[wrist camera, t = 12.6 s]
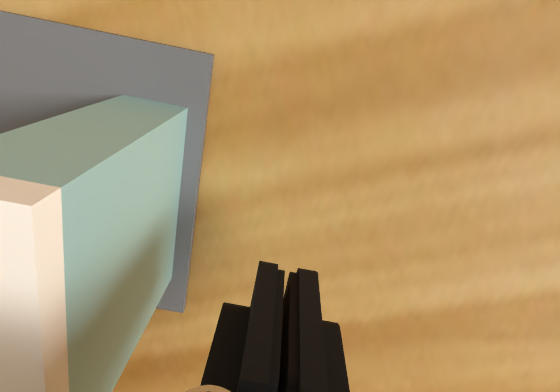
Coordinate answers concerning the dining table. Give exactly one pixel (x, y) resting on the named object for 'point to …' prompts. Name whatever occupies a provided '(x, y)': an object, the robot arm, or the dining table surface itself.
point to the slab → (85, 240)
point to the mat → (108, 97)
